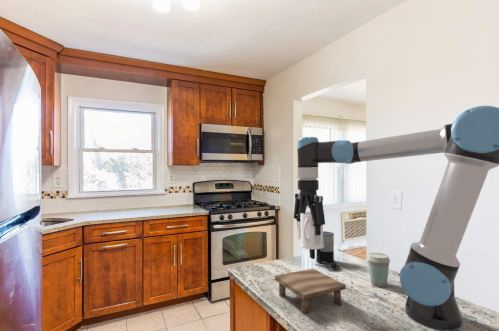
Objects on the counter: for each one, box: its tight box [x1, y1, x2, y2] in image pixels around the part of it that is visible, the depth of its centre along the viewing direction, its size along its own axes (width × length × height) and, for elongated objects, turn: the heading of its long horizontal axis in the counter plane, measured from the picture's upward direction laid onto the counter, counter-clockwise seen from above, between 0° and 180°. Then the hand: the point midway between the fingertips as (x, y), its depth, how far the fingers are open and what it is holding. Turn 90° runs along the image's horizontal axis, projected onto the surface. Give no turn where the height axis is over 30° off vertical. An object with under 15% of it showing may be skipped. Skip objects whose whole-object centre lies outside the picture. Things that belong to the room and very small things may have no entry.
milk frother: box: [308, 230, 340, 269], centre depth 138 cm, size 14×16×15 cm
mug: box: [299, 211, 324, 250], centre depth 100 cm, size 12×8×12 cm
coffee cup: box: [366, 252, 391, 288], centre depth 113 cm, size 8×8×12 cm
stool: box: [274, 268, 347, 315], centre depth 100 cm, size 18×18×7 cm
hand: (308, 241), depth 101 cm, fingers closed on mug, 8 cm apart
